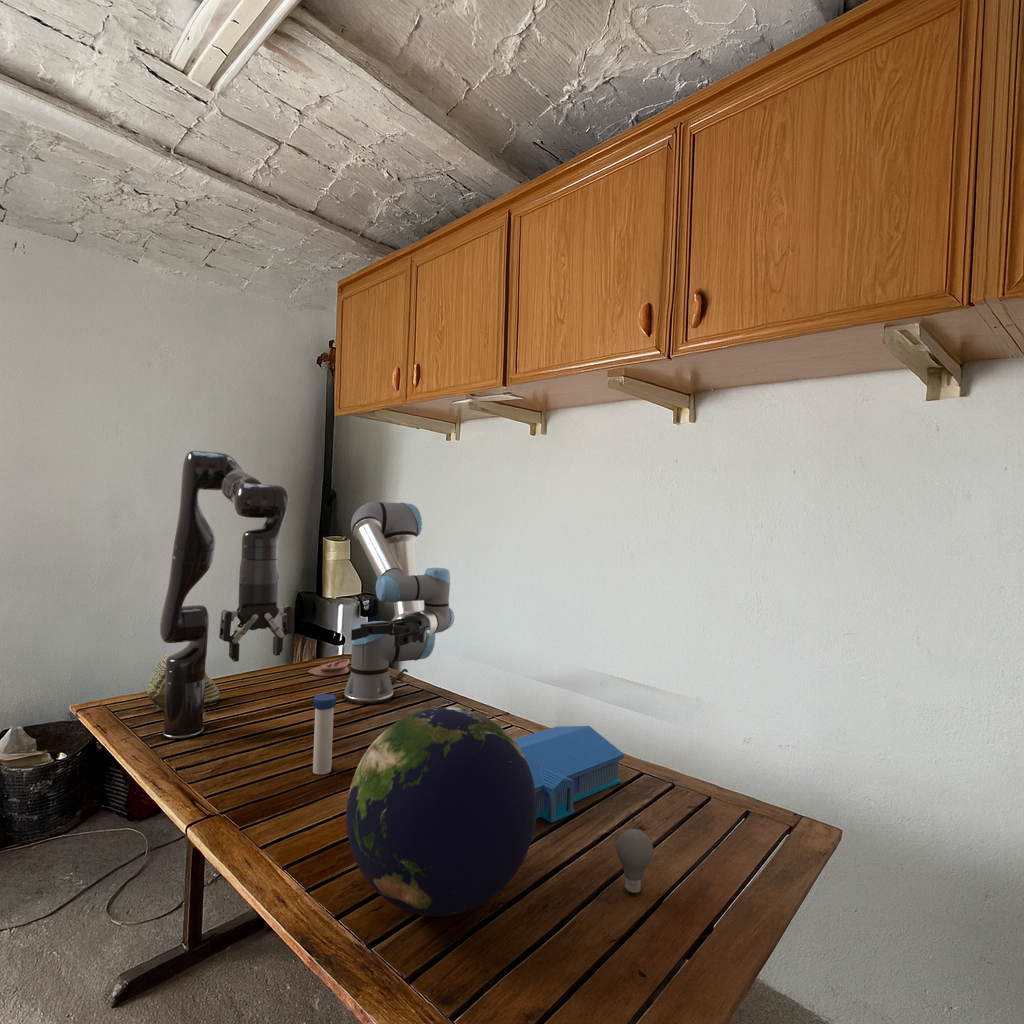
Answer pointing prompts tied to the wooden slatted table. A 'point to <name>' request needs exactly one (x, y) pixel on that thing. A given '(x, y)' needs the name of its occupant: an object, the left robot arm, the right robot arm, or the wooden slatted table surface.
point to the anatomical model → (331, 668)
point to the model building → (568, 767)
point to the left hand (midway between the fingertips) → (256, 657)
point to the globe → (441, 811)
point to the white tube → (323, 741)
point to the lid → (324, 701)
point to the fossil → (158, 687)
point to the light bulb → (634, 857)
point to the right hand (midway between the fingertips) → (373, 638)
